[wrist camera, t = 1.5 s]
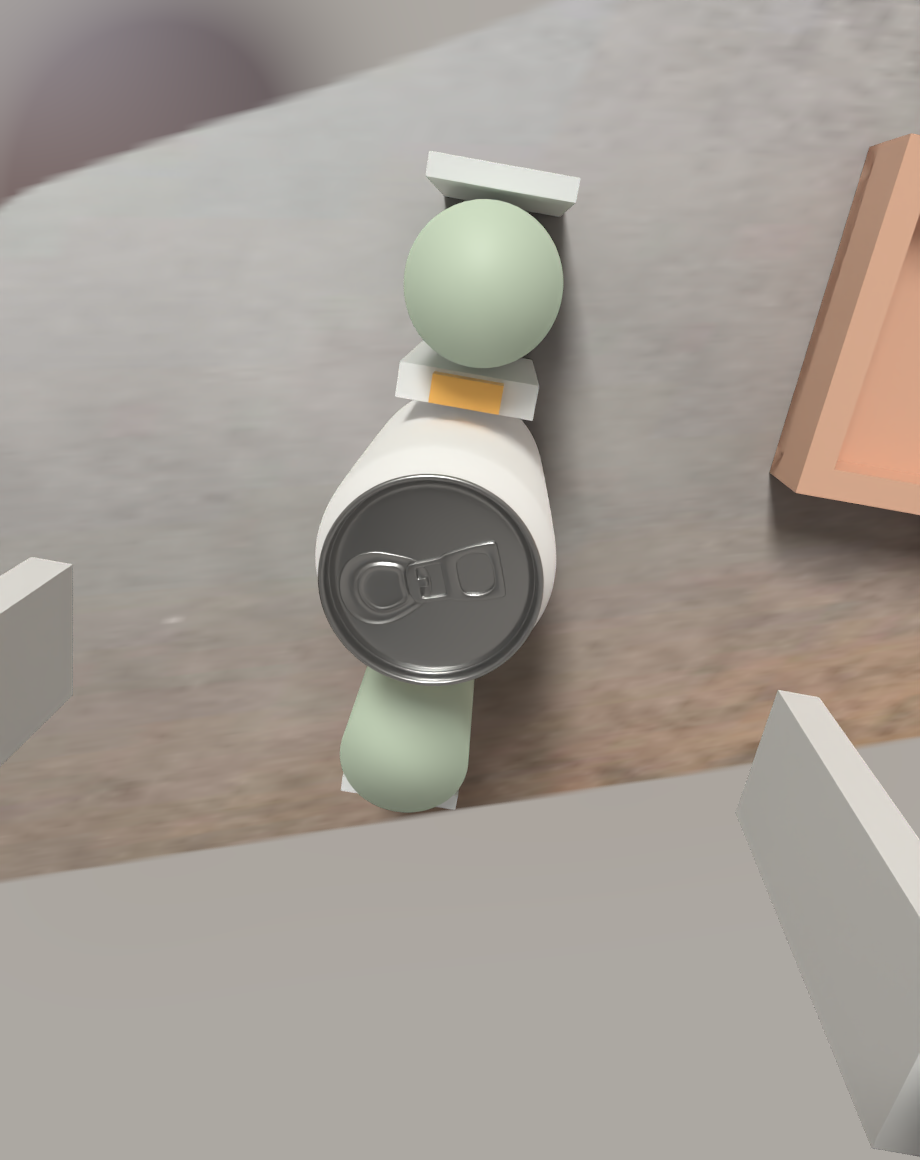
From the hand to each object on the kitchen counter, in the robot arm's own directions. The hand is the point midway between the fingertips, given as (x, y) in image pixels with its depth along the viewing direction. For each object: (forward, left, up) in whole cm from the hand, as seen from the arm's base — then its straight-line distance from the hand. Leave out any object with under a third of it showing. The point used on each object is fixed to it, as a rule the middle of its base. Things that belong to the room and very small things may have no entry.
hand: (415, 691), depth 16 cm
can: (0, 0, -18) cm, 18 cm away
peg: (0, -7, -18) cm, 19 cm away
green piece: (0, +7, -18) cm, 19 cm away
